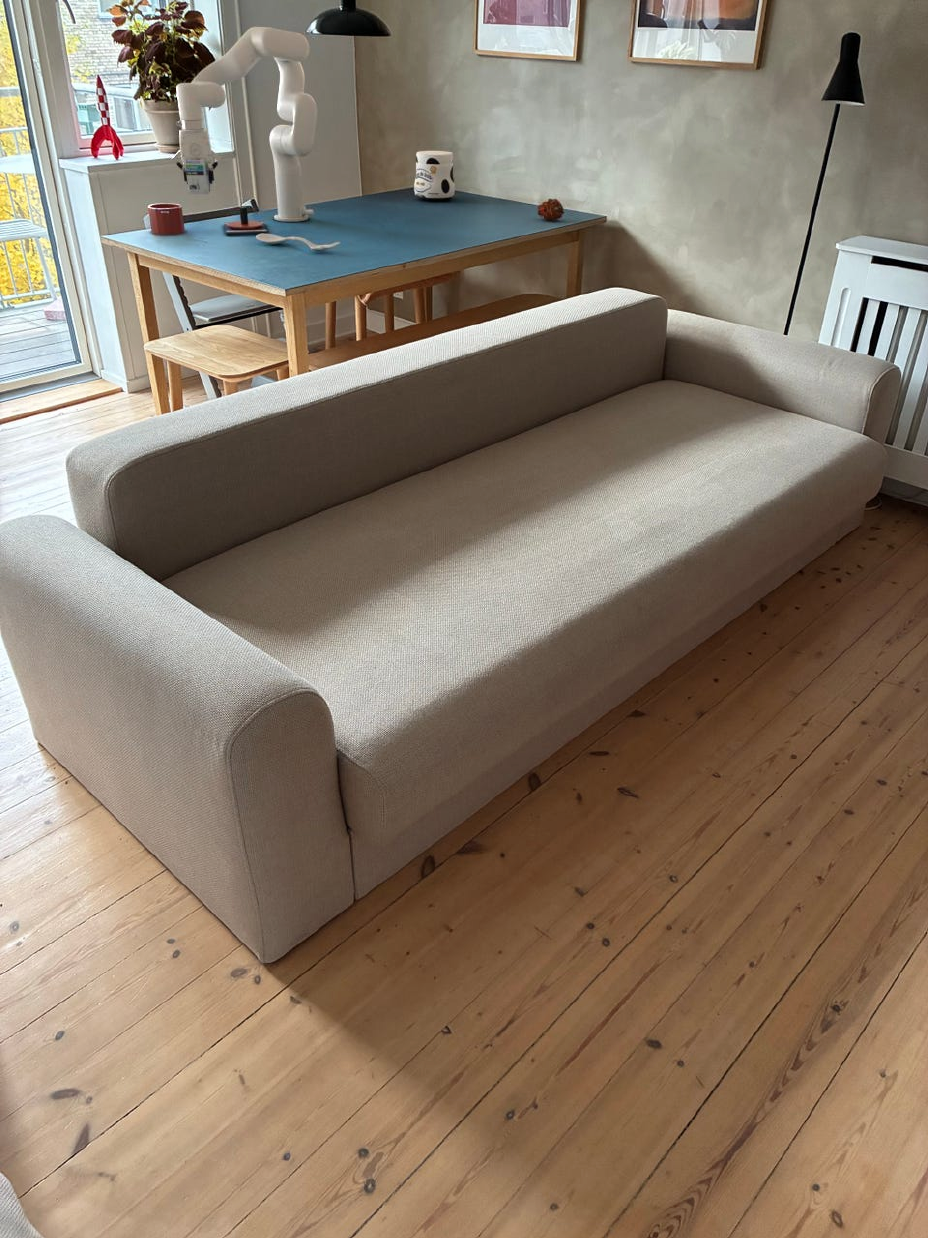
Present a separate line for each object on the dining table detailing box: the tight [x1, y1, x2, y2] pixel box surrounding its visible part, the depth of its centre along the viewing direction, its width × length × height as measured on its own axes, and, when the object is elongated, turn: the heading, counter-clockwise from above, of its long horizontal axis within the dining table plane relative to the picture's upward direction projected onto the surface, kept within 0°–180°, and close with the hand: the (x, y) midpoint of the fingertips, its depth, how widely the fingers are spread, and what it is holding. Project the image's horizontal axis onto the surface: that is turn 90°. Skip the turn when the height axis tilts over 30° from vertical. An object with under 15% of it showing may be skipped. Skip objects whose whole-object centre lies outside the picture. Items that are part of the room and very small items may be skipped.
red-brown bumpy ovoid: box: [536, 198, 565, 222], centre depth 363 cm, size 8×8×12 cm
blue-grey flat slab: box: [223, 221, 269, 237], centre depth 337 cm, size 14×20×1 cm
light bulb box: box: [185, 159, 213, 195], centre depth 324 cm, size 11×7×11 cm, turn 6°
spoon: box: [255, 233, 341, 252], centre depth 311 cm, size 9×32×4 cm, turn 56°
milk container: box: [413, 150, 456, 202], centre depth 397 cm, size 17×17×18 cm
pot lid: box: [227, 206, 262, 230], centre depth 335 cm, size 12×12×7 cm
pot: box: [147, 202, 186, 236], centre depth 329 cm, size 11×17×8 cm
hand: (199, 182), depth 325 cm, fingers closed on light bulb box, 7 cm apart
